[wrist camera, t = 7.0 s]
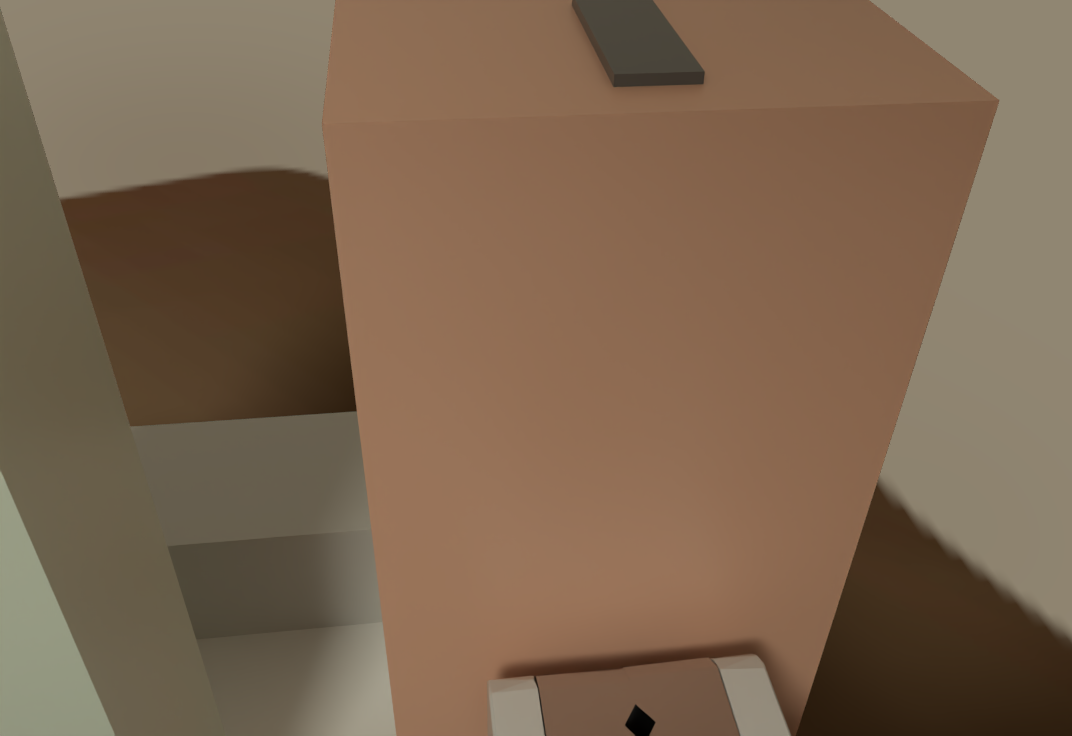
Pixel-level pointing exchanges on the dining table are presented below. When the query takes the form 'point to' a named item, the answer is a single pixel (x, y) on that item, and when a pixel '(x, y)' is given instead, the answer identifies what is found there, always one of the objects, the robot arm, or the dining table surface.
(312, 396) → the dining table surface
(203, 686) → the pale green tall block
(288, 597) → the tile board
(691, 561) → the orange-brown upright block
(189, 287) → the dining table surface
